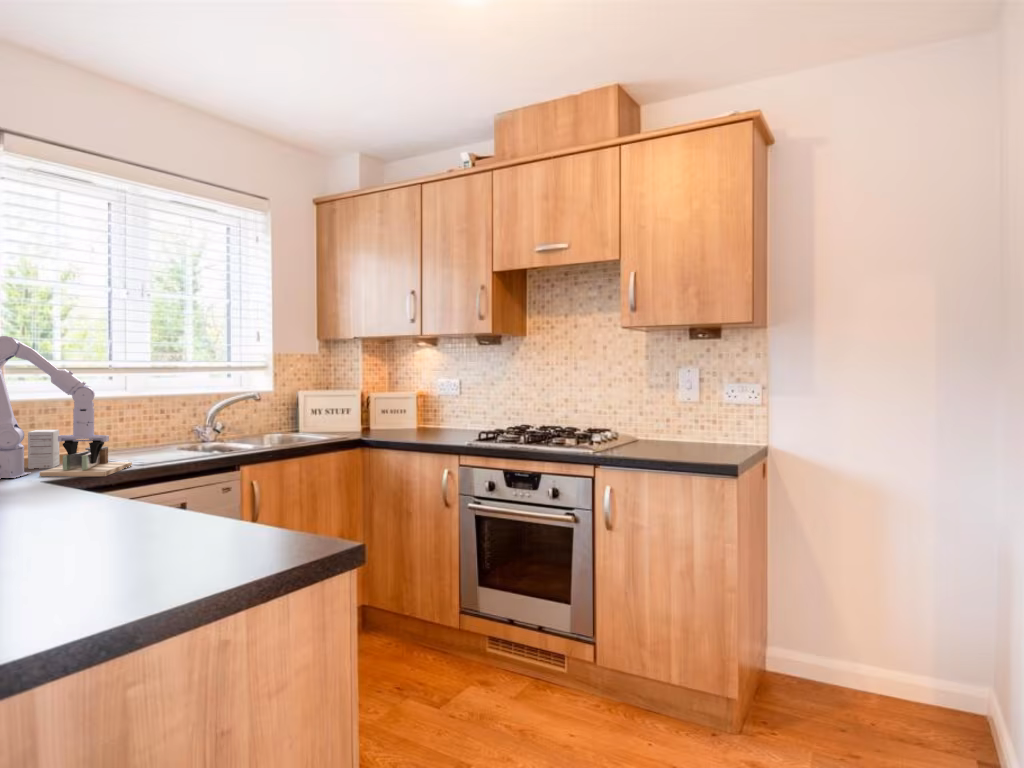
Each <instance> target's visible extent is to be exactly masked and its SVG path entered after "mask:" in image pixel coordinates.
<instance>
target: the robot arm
mask: <svg viewBox="0 0 1024 768" xmlns="http://www.w3.org/2000/svg"><path fill="white" fill-rule="evenodd" d="M13 358H16V359H17V358H18V359H22V360H26V361H28V362H30V363H31V364H32V365H34V366H35V367H37V368H38V369H39V370H41V371H43V372H44V373H45V374H47V376H49V377H50V382H51V384H53V385H54V386H56V387H57V388H58V389H60V390H61V391H63V393H65V394H67V395H68V396H71V397H72V400H73V401H74V402H73V403H74V407H73V412H72V413H73V415H72V416H73V418H72V419H73V420H72V421H73V422H72V426H73V427H72V434H67V435H66V434H64V435H63V434H59V436H58V442H59V443H60V442H61V443H62V442H63V443H62V447H63V448H64V450H65V452H66V453H67V455H70V454H75V453H78V452H77V451H78V446H79V442H88V444H89V447H90V451H91V464H94V463H96V461H97V457H98V454H99V452H100V450H101V448H102V447H104V444H105V442H109V441H110V435H108V434H106V435H103V434H95V408H94V406H95V402H94V399H95V396H96V395H95V394H96V393H95V390H94V389H93V388H92V386H89V385H86V384H87V382H85V381H82V380H80V379H79V378H78V377H76V376H75V375H74V372H73V371H72V370H69V371H68V370H67V369H64V368H63V369H59V368H58V367H56V366H55V365H54V364H52V363H51V362H50V361H49V360H48V359H46V358H45V357H44V356H43V355H42V354H40V353H39V352H38V351H36V350H35V349H33V347H30V346H29V345H28V344H26V343H24V342H21V341H20V340H19V339H18V338H16V337H13V336H7V335H1V336H0V480H2V479H1V478H14V479H17V478H19V477H20V476H21V477H24V476H27V474H28V475H31V472H29V471H28V472H27V471H26V472H25V445H23V443H22V442H23V441H24V438H25V432H24V430H23V429H22V428H21V427H20V425H19V424H18V421H17V419H16V416H15V414H14V411H13V408H12V403H11V400H10V396H9V392H8V389H7V385H6V382H5V378H4V374H3V370H2V368H3V366H4V365H5V364H7V362H8V361H9V360H10V359H13ZM16 477H17V478H16Z"/></svg>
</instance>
